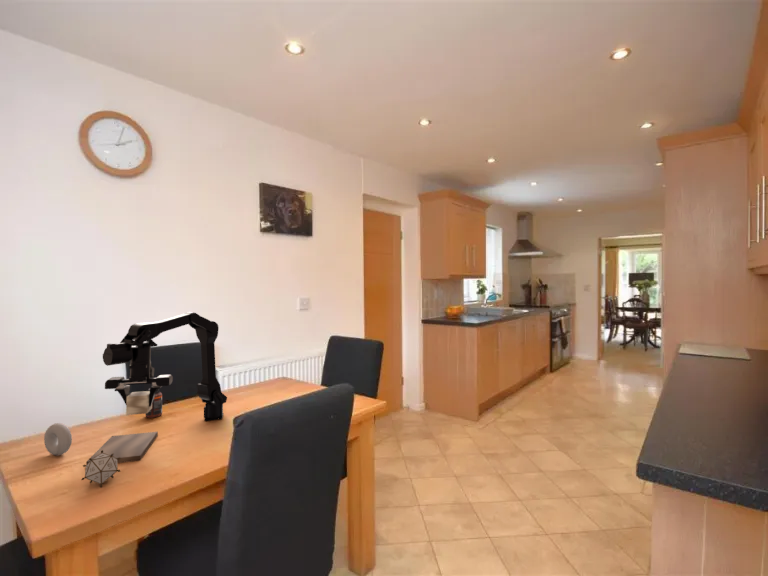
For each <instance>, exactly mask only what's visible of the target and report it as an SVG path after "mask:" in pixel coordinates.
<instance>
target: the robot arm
mask: <svg viewBox="0 0 768 576" xmlns="http://www.w3.org/2000/svg"><path fill="white" fill-rule="evenodd" d="M187 325H188V326H189V327H190V328H192V329H194V330H195V334H196V338H197V339H198V341H199V343H200V350H201V351H200V352H201V372H202V373H201V374H202V375H201V376H202V379H201V381H200V383H197V384H196V389H197V391H196V394H197V395H198V397H199V399H201V402H202V403H205V404H204V405H205V406H204V407H203V419H204V421H205V422H207V421H217V420H218V421H219V420H223V418H224V415H225V414H224V404H225V403H227V401H228V396H227V395H225V393H223V392H222V388H221V384H220V382H219V381H218V379H217V372H216V371H217V370H216V352H215V351H216V350H215V342H216V341H217V338H218V335H219V325H218V323H217V322H216V321H212V320H210V319H208V318H206V317H203V316H201V315H199V314H198V313H197V312H192V311H187V312H184V313H182V314H178V315H175V316H172V317H169V318H165V319H161V320H158V321H151V322H150V321H149V322H137V323H133V324H131V325H130V327H129V329H128V331H127V333H126V335H125V336H124V337H123V338H122V340H121V341H120V342H119V343H107V344H106V347H105V348H104V351H103V353H102V361H103V363H104V365H105V366H113V365H121V364H122V365H123V364H128V363H129V362H130V363H129V371H130V372H129V374H130V375H129V378H127V379H126V378H125V377H124V376H112V377H110V378H108V379H107V380H106V381H105V383H104V389H105V390H114V392H118V394H119V396H120V397H121V398H122V399H123V402H124V404H125V405H126V401H127V396H128V395H130V394H131V392H130V390H131V385H133V386H134V385H147V384H148V385H149V384H150V385H151V386H150V387H149V388H150V395H149V407H150V406H151V405H152V403H153V400H154V397H155V395H156V393H157V391H158V389H159V390H160V389H161V388H162V387H168V386H170V385H171V384H173V381H174V377H173V375H172V374H160V375H158V376H157V377H154V376H155V367H153V366H152V361H151V359H152V358H151V355H152V352H151V350H152V347H157V346H158V343H157V342H155V341H154V340H153V339H154V338H157V337H158V336H159V335H161V334H162V333H165V332H167V331H171V330H174V329H178V328H180V327H183V326H187Z"/></svg>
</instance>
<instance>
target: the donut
mask: <svg viewBox="0 0 768 576" xmlns="http://www.w3.org/2000/svg"><path fill="white" fill-rule="evenodd" d="M72 436H73V435H72V433H71V430H70V428H69V427H68V426H67V425H66V424H65V423H61V422H57V423H53V424H51V425H50V426H49V427H48V428H47V429H46V430H45V432H44V435H43V437H44V440H43V443H44V446H45V449H46V451H47V452H48V453H49V454H50V455H53V456H62V455H64V454H65V453H67V452H68V451H69V449H70V448H71V445H72V442H73V437H72Z"/></svg>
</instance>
